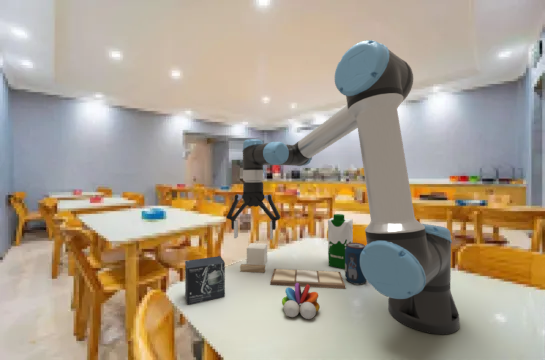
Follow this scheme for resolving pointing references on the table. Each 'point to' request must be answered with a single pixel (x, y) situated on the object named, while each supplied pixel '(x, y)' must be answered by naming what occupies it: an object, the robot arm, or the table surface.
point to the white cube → (257, 254)
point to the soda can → (354, 263)
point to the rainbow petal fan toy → (300, 302)
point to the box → (204, 279)
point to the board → (307, 278)
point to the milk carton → (339, 239)
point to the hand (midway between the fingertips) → (253, 238)
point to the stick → (252, 268)
